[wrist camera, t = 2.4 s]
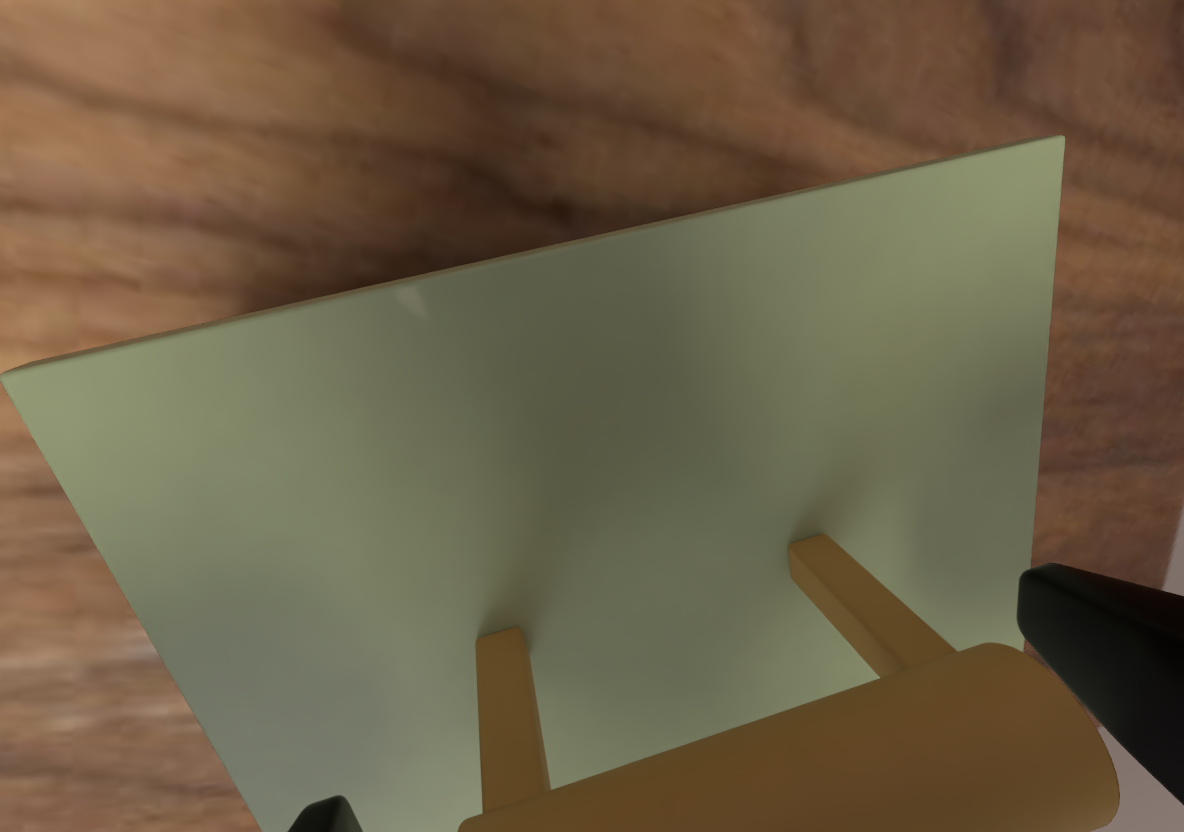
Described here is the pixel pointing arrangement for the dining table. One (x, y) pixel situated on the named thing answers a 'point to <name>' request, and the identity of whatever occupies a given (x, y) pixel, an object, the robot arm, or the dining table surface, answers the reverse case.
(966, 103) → the dining table surface
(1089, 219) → the dining table surface
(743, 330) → the lid
